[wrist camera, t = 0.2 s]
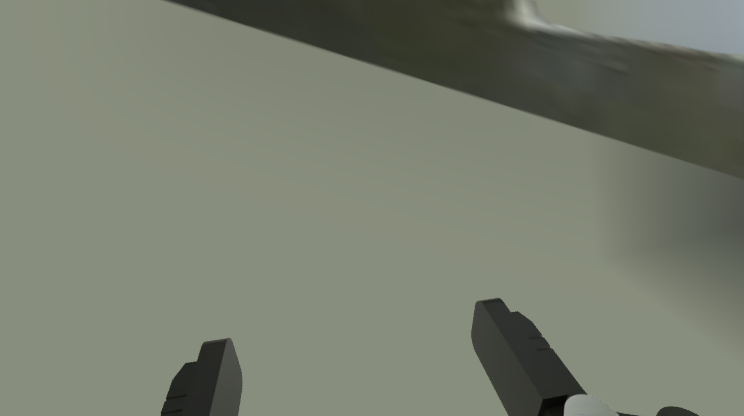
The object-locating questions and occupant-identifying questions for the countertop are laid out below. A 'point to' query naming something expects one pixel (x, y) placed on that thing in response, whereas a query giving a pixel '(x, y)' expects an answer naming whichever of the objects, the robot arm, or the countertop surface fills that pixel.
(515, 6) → the countertop surface
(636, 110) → the countertop surface
